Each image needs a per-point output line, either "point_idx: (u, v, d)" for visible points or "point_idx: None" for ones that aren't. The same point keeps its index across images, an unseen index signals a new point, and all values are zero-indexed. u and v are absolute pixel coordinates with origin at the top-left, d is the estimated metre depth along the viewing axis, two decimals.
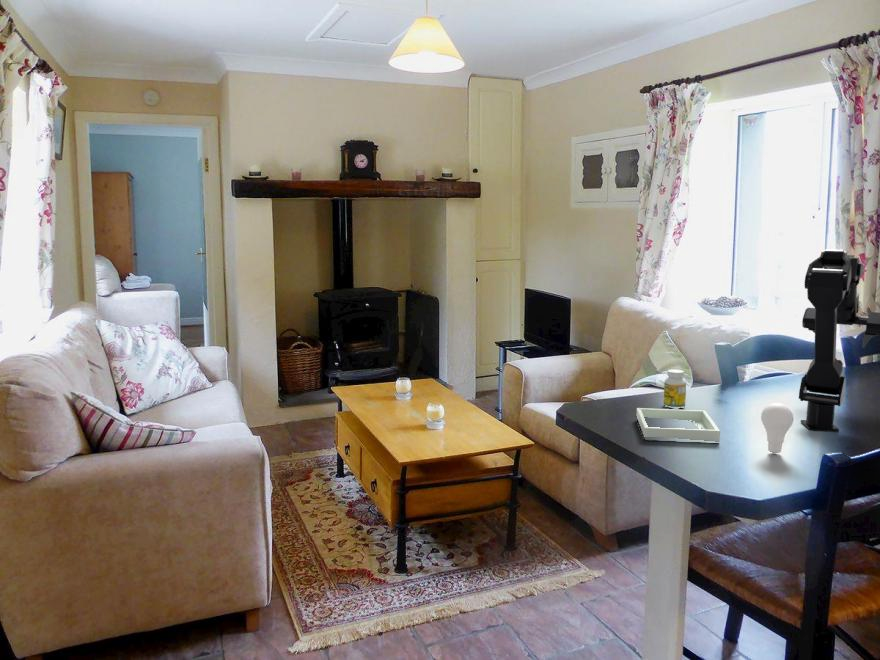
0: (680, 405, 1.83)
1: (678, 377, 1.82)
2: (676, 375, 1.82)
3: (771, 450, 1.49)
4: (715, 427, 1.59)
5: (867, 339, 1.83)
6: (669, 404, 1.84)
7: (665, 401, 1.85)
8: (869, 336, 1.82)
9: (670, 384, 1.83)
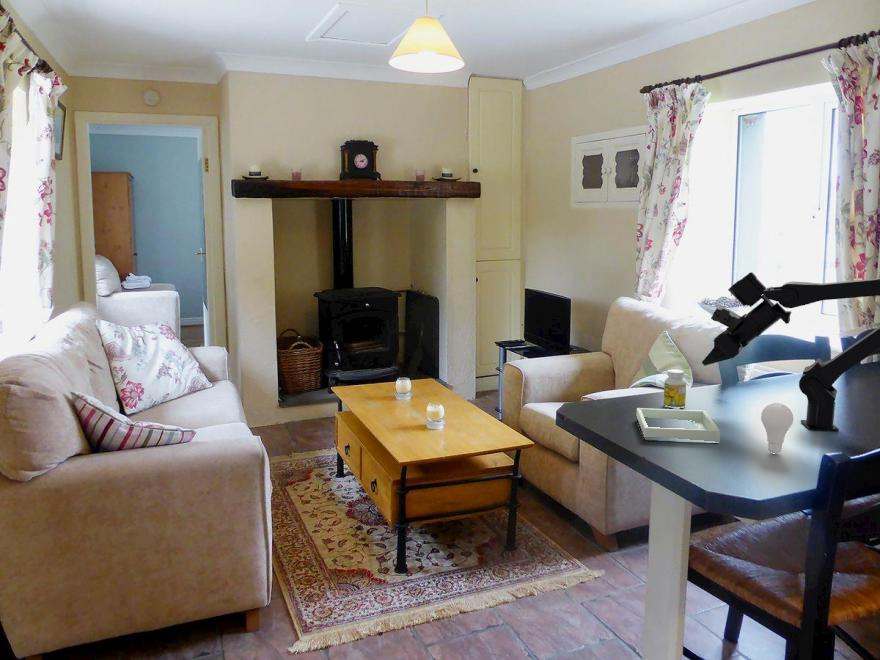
0: (680, 405, 1.83)
1: (678, 377, 1.82)
2: (676, 375, 1.82)
3: (771, 450, 1.49)
4: (715, 427, 1.59)
5: None
6: (669, 404, 1.84)
7: (665, 401, 1.85)
8: None
9: (670, 384, 1.83)
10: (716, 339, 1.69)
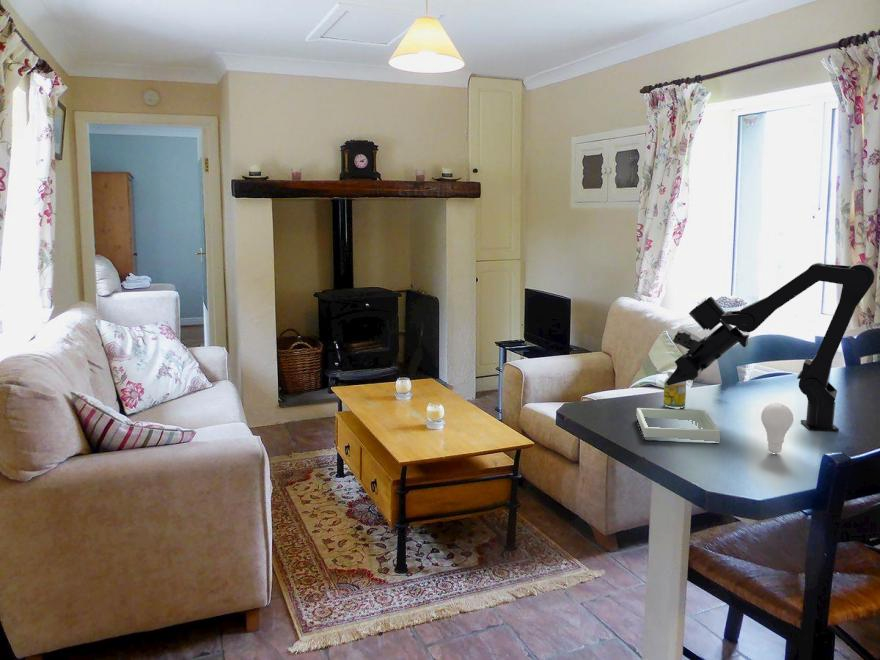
0: (680, 405, 1.83)
1: None
2: None
3: (771, 450, 1.49)
4: (715, 427, 1.59)
5: None
6: (669, 404, 1.84)
7: (665, 401, 1.85)
8: None
9: None
10: (676, 362, 1.74)
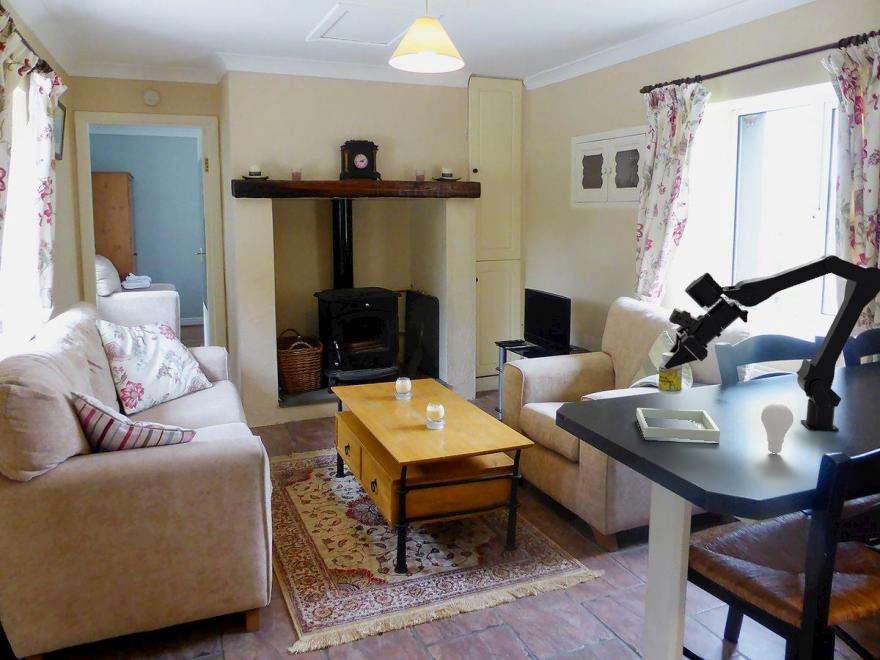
0: (678, 389, 1.73)
1: None
2: None
3: (771, 450, 1.49)
4: (715, 427, 1.59)
5: None
6: (667, 389, 1.73)
7: (662, 387, 1.73)
8: None
9: None
10: (684, 343, 1.63)
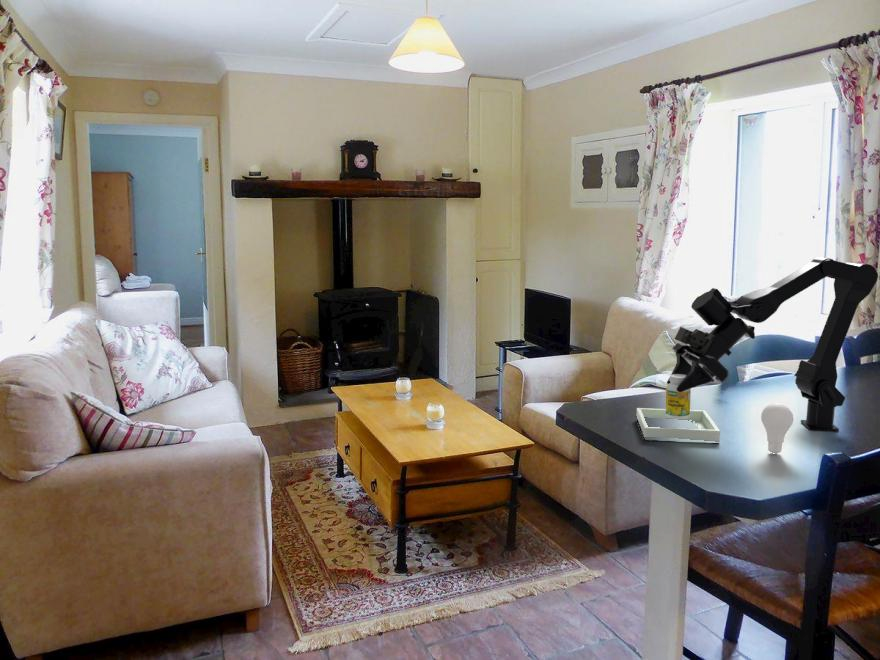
0: (689, 413, 1.63)
1: None
2: None
3: (771, 450, 1.49)
4: (715, 427, 1.59)
5: None
6: (679, 414, 1.62)
7: (673, 411, 1.63)
8: None
9: None
10: (707, 365, 1.54)
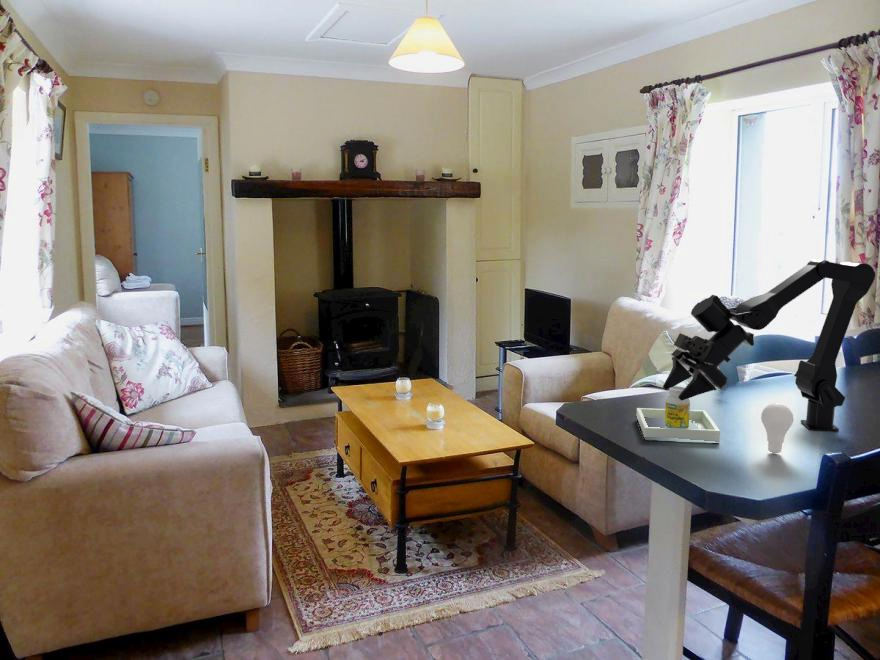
0: (688, 426, 1.64)
1: None
2: None
3: (771, 450, 1.49)
4: (715, 427, 1.59)
5: None
6: (678, 427, 1.63)
7: (672, 424, 1.63)
8: None
9: (680, 404, 1.62)
10: (706, 371, 1.54)
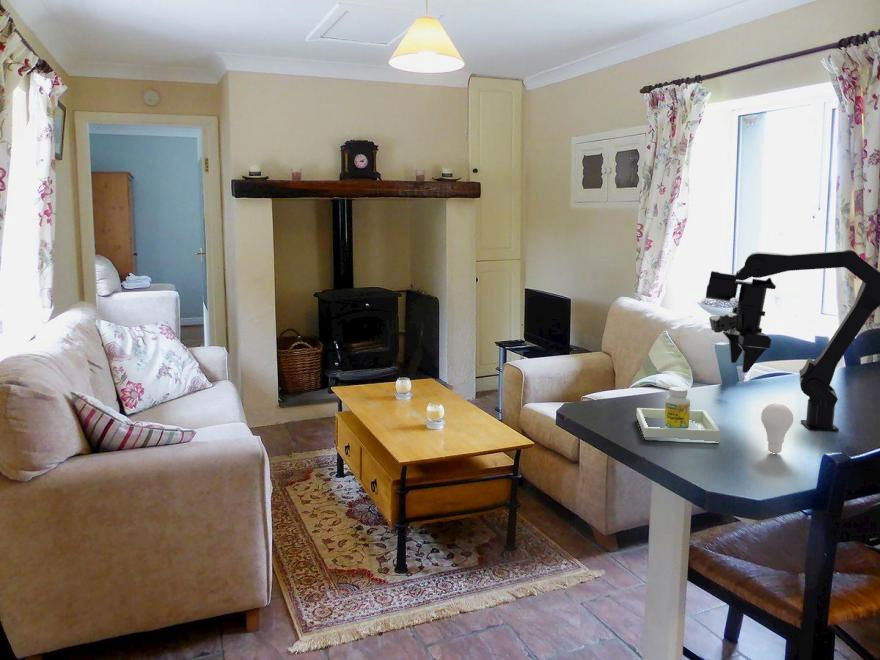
0: (688, 426, 1.64)
1: (685, 395, 1.63)
2: (684, 393, 1.62)
3: (771, 450, 1.49)
4: (715, 427, 1.59)
5: None
6: (678, 427, 1.63)
7: (672, 424, 1.63)
8: None
9: (680, 404, 1.62)
10: (745, 344, 1.63)
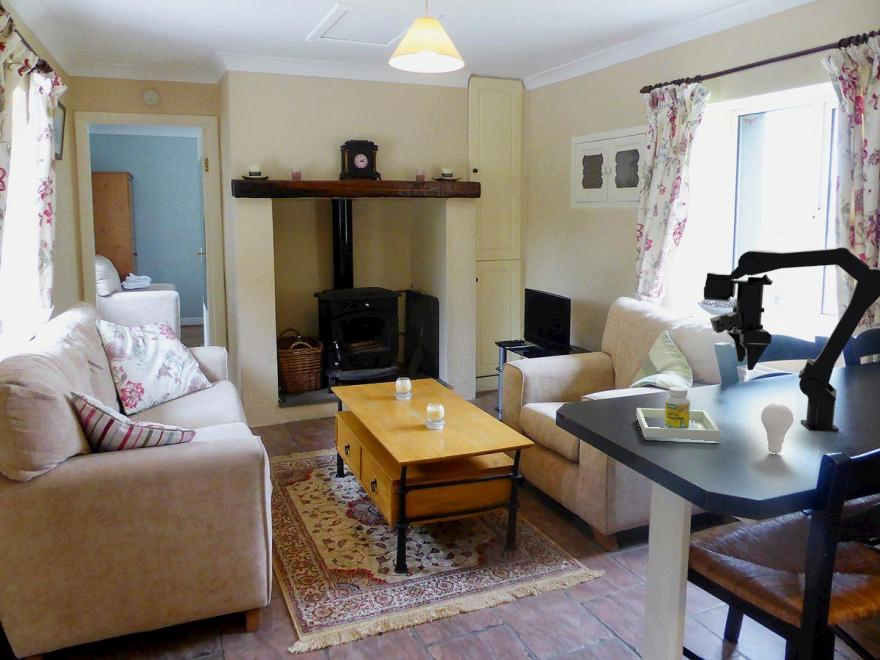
0: (688, 426, 1.64)
1: (685, 395, 1.63)
2: (684, 393, 1.62)
3: (771, 450, 1.49)
4: (715, 427, 1.59)
5: None
6: (678, 427, 1.63)
7: (672, 424, 1.63)
8: None
9: (680, 404, 1.62)
10: (745, 341, 1.64)
